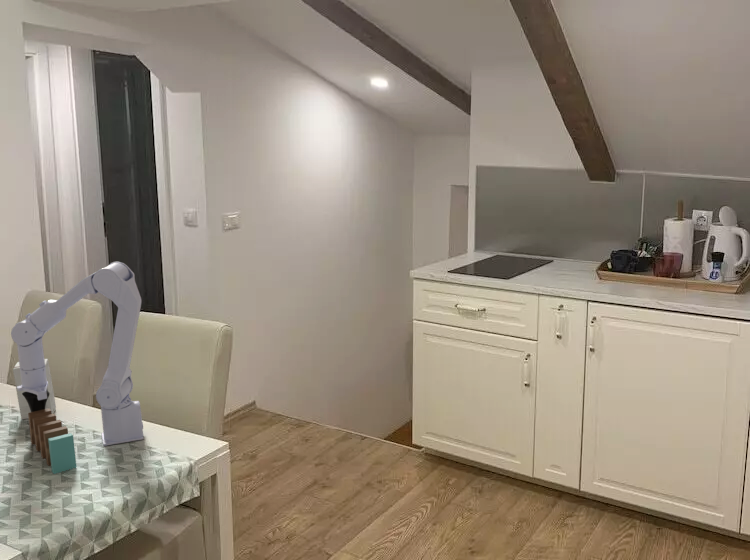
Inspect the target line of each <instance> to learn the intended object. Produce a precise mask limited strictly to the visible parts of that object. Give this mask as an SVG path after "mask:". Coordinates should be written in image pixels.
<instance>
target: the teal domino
mask: <svg viewBox="0 0 750 560" xmlns="http://www.w3.org/2000/svg"><path fill="white" fill-rule="evenodd" d="M74 440H75V439H74V434H73V433H72V432H70V433H69V432H68V434H65V435H61V436H57V437H53V438H49V439H48V442H49V450H50V459H51V466H50V467H51V472H52V474H53V475H56V474H60V473H63V472H66V470H67V471H70V470H74V469H77V468H76V467H77V460H76V451H75V449H76V448H75V441H74ZM73 468H74V469H73ZM69 469H70V470H69ZM62 471H63V472H62Z"/></svg>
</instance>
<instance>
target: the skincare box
mask: <svg viewBox="0 0 750 560" xmlns="http://www.w3.org/2000/svg"><path fill="white" fill-rule="evenodd" d="M44 360H45V368H46V377H47V381H48V387H47V391H48V392H49V393H50V394H49V397H48V399H47V402H46V406H45V409H48V408H50V410H51V413H52V414H55V412H56V410H57V409H56V408H57V406H56V397H55V391H54V387H53V382H52V373H51V368H50V362H49V361H50V360H49V358H44ZM12 374H13V378H14V384H15V390H16V397H17V403H18V409H19V413H20V414H19V415H20V419H21V420H29V417H28V413H30V412H31V410H30V408H29V405H28V403H27V401H26V399H25V397H24V396H23V395H22V393H23V392H27V391H23V390H22V391H18V390H17V386H21V385H22V382H21V374H20V366H19V361H17V362H16V364H15V365H14V366H13V368H12Z"/></svg>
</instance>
